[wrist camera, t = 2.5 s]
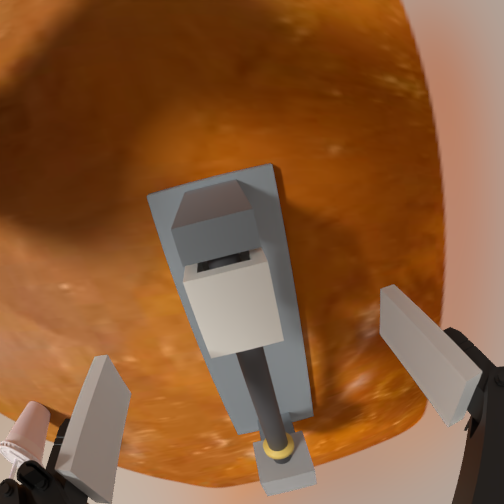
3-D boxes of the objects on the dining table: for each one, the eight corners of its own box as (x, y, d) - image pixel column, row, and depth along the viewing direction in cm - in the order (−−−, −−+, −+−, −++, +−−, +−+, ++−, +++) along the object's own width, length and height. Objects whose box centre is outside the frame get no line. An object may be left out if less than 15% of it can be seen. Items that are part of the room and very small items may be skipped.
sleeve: (187, 250, 19) (182, 282, 15) (255, 233, 19) (267, 261, 15) (209, 317, 21) (211, 358, 17) (270, 302, 21) (283, 340, 17)
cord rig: (148, 194, 24) (104, 244, 13) (270, 163, 24) (320, 189, 13) (237, 430, 36) (249, 505, 25) (312, 411, 36) (338, 483, 25)
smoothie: (46, 396, 30) (15, 480, 17) (66, 426, 33) (44, 504, 20) (13, 392, 30) (-21, 466, 17) (33, 421, 32) (8, 492, 19)
